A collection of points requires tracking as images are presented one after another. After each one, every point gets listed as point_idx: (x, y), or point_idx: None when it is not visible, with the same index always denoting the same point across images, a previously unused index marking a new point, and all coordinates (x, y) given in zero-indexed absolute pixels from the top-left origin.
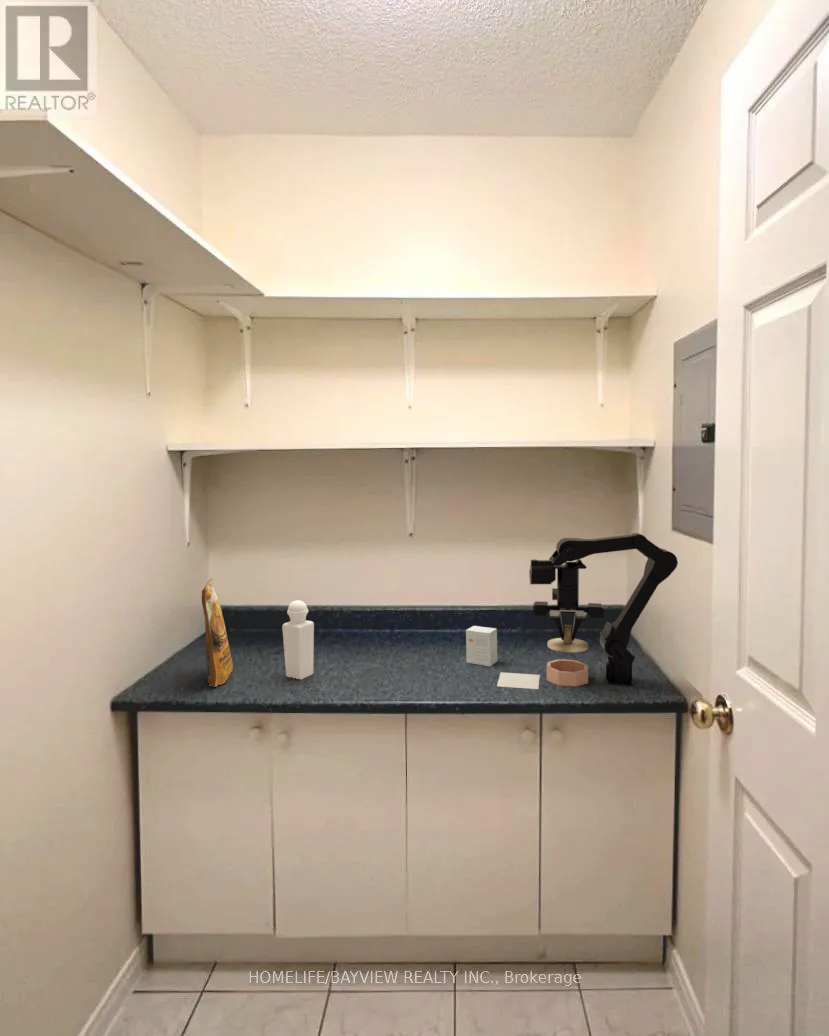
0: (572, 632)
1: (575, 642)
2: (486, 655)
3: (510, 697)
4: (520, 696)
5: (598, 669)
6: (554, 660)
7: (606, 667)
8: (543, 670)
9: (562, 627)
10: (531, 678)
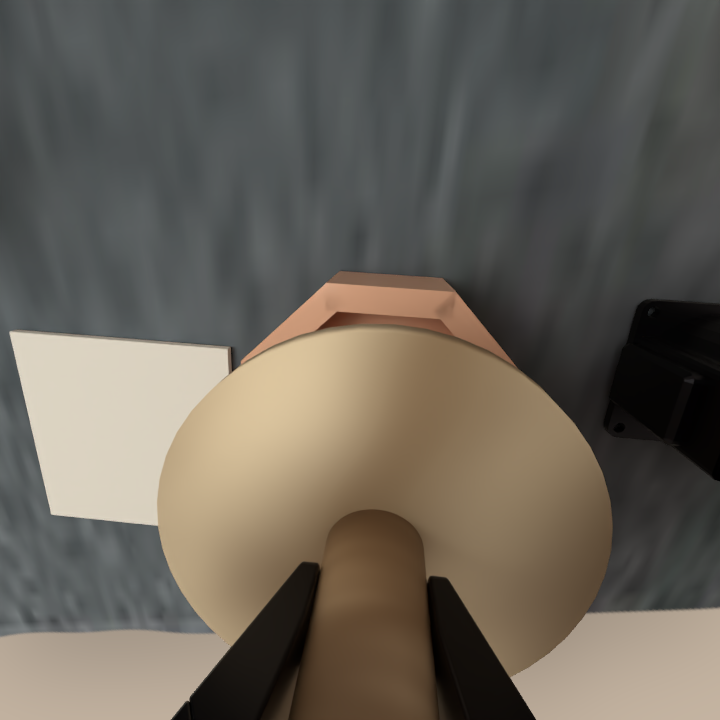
0: (442, 680)
1: (468, 514)
2: None
3: (137, 595)
4: (173, 585)
5: (628, 156)
6: (292, 318)
7: (656, 436)
8: (245, 235)
9: (265, 713)
10: (189, 408)
